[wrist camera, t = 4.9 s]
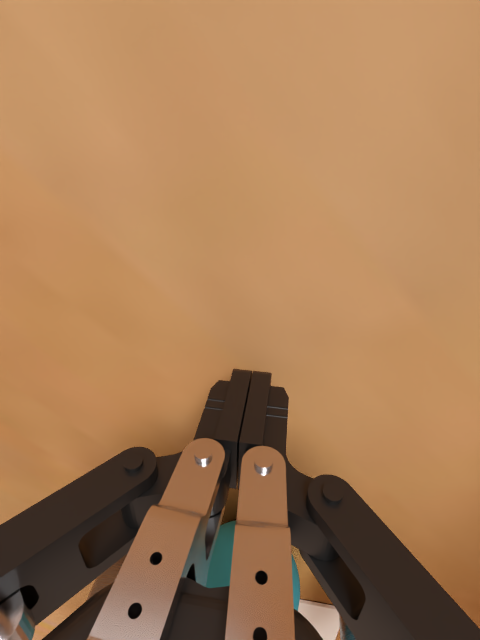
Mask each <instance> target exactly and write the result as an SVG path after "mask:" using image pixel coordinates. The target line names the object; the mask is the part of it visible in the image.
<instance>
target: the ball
mask: <svg viewBox="0 0 480 640" xmlns="http://www.w3.org/2000/svg"><path fill="white" fill-rule="evenodd" d="M235 524H236V520H235V521H231V522H227V523H225V524H223V525H220V529H219V533H218V536H217V540H216V543H215V547H214V550H213V554H212V558H211V561H210V565H209V569H208V575H207V583H206V587H207V588H216V587H225V586H230V577H231V566H232V555H233V544H234V533H235ZM291 556H292V553H291ZM292 580H293V604H294V609H295V610H297V611H298V607H299V601H300V580H299V574H298V570H297V566H296V563H295V560H294V558H293V556H292Z"/></svg>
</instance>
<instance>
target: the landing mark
mask: <svg viewBox="0 0 480 640" xmlns="http://www.w3.org/2000/svg"><path fill="white" fill-rule="evenodd" d="M298 612H299V613H301V614H302V615H303V616H304V617H305V618H306V619H307V620H308V621H309V622H310V623H311V624H312V625H313V627H314V628H315V629H316V630H317V632H318V633H319V635H320V636H321V637H322V639H323V640H335V639H336V636H337V633H338V631H339V628H340V623H339V613H338V611H337V609H336V608H335V606H333V605H328V604H322V603H317V602H312V601H306V600H301V599H300V601H299V607H298Z"/></svg>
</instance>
